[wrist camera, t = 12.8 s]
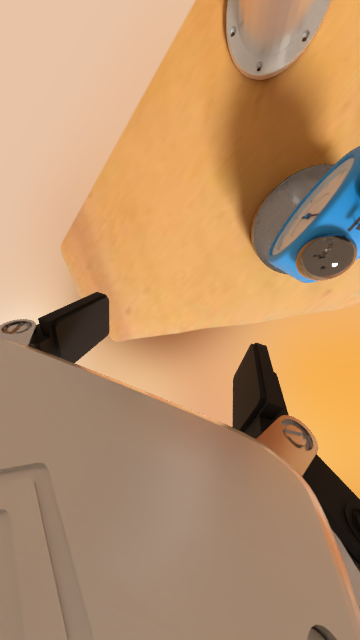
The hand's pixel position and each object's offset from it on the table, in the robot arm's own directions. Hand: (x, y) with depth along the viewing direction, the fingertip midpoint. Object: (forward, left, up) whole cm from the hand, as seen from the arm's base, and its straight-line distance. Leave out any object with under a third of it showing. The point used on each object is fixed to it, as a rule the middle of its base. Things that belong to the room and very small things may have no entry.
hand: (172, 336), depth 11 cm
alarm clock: (-9, +12, -26) cm, 30 cm away
